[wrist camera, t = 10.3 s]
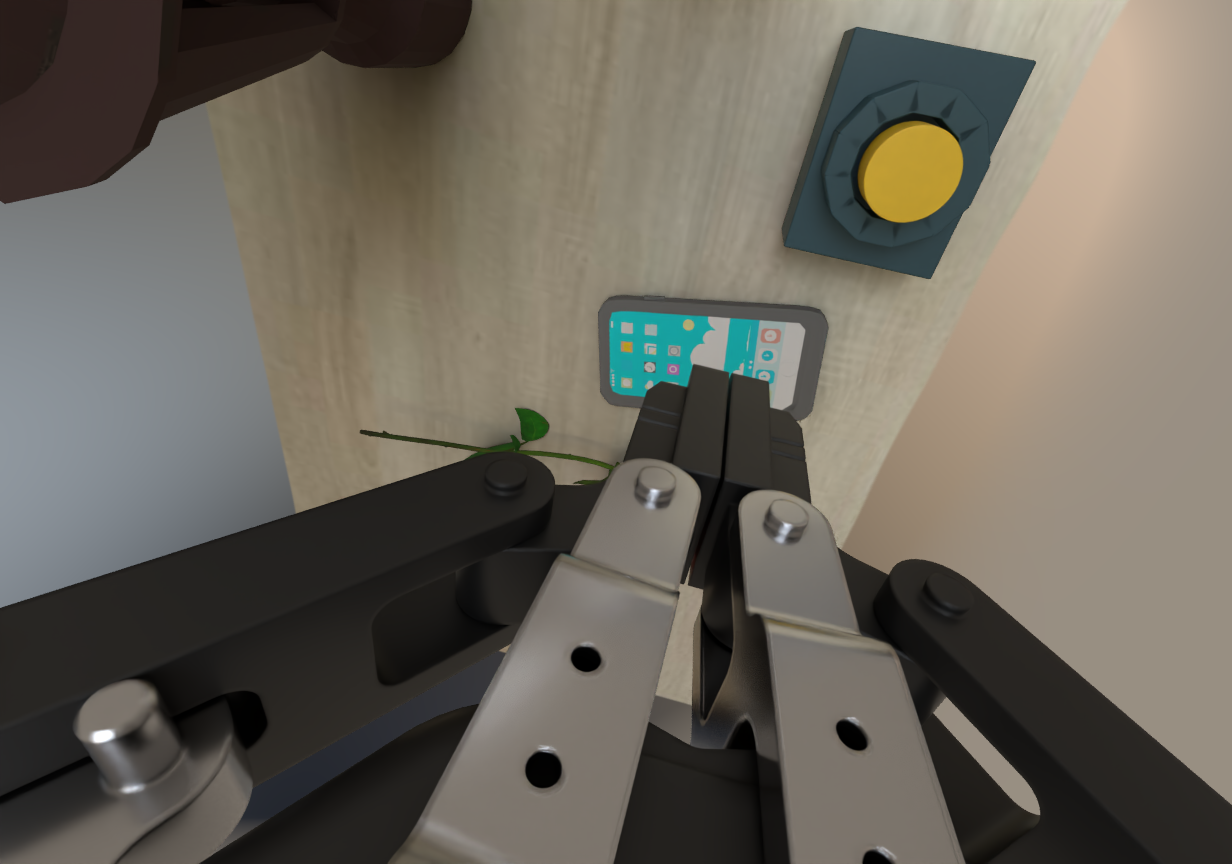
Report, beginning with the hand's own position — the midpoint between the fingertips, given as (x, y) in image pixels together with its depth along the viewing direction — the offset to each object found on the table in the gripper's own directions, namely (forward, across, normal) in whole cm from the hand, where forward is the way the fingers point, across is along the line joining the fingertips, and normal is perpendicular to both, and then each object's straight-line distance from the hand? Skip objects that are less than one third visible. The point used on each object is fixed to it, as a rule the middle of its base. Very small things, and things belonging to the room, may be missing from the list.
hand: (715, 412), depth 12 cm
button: (+21, -7, -3) cm, 23 cm away
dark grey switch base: (+27, -7, -3) cm, 28 cm away
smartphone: (+27, -1, +11) cm, 29 cm away
